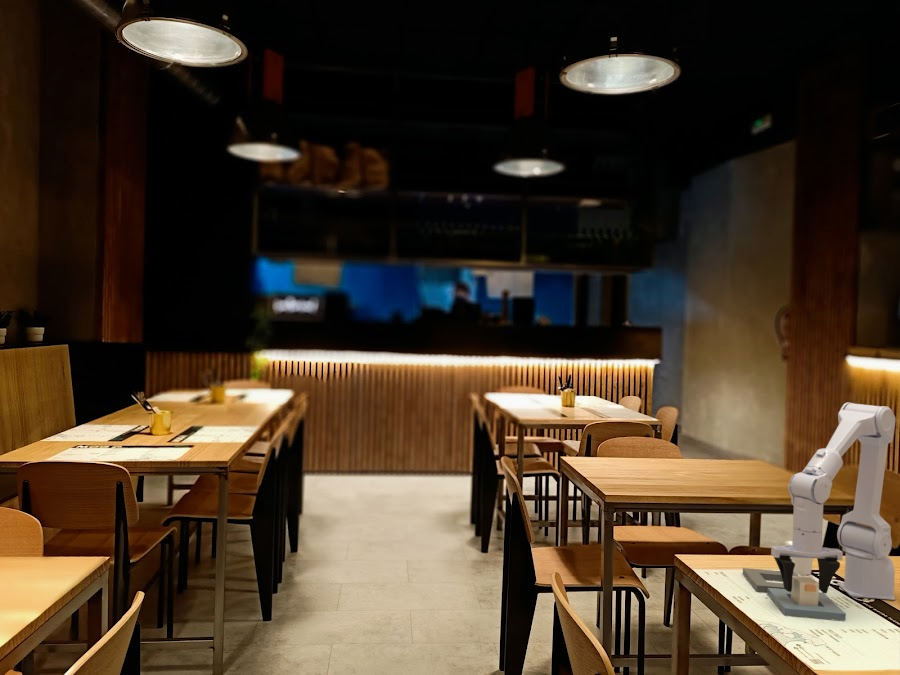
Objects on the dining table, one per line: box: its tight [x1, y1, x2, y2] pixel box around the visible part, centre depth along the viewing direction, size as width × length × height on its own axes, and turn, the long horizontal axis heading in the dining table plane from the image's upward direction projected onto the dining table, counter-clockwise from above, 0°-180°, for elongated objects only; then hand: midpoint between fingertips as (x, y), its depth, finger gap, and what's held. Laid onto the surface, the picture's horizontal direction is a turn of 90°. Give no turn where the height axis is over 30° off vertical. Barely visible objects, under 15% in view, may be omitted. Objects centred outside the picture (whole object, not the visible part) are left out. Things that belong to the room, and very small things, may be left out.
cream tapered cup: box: [784, 539, 814, 576], centre depth 172 cm, size 7×7×7 cm
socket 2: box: [766, 588, 847, 621], centre depth 149 cm, size 12×12×2 cm
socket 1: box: [742, 567, 799, 594], centre depth 162 cm, size 12×12×2 cm
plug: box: [791, 575, 820, 606], centre depth 149 cm, size 4×5×6 cm
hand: (805, 590), depth 149 cm, fingers open, 7 cm apart
